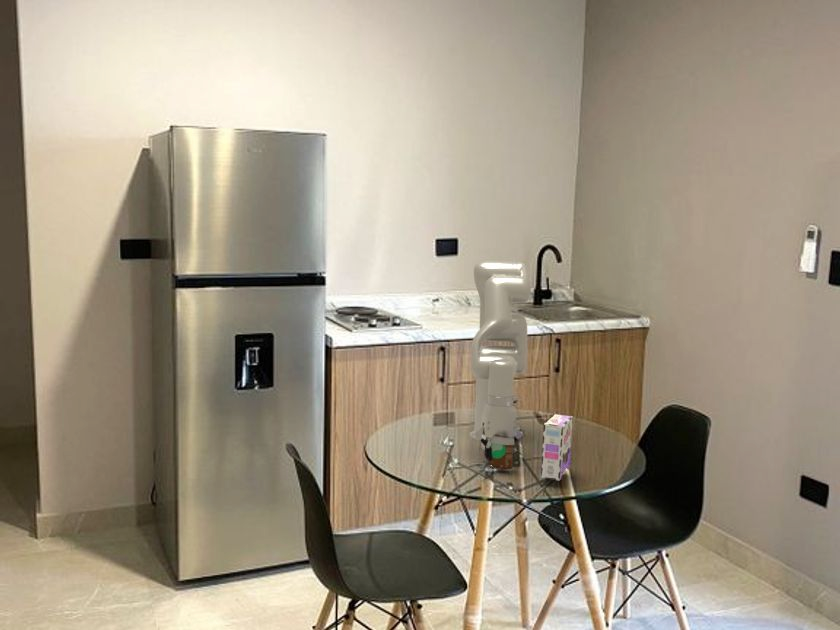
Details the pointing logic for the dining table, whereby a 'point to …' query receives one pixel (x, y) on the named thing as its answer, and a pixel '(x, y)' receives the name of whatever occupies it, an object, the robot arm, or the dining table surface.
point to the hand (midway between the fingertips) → (497, 458)
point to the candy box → (556, 446)
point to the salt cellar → (482, 444)
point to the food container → (501, 452)
